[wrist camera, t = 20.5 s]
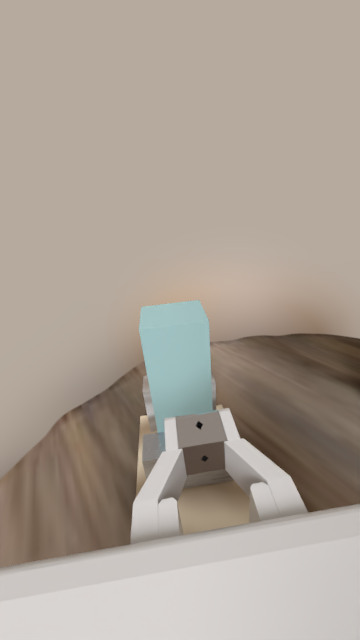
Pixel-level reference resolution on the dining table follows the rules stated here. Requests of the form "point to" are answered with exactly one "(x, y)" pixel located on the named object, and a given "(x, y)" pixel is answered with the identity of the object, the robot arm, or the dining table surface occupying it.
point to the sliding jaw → (156, 446)
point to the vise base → (200, 501)
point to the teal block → (177, 359)
